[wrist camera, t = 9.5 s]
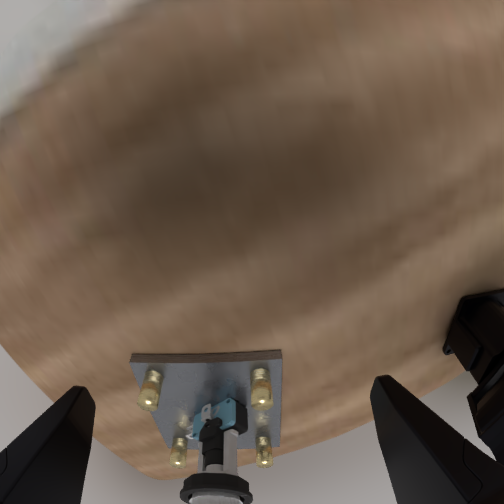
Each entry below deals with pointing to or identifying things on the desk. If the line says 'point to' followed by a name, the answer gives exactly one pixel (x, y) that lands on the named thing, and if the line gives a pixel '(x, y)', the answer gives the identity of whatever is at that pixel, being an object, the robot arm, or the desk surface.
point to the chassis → (212, 396)
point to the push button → (217, 456)
